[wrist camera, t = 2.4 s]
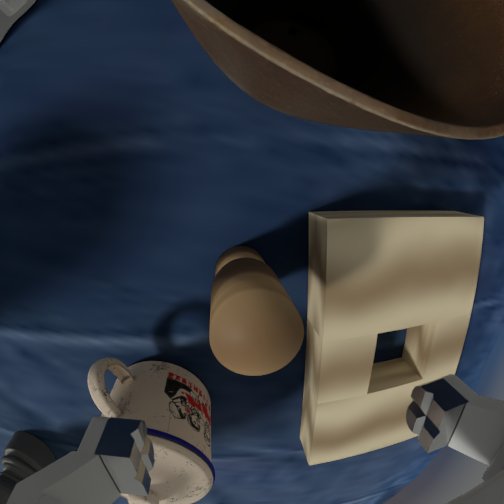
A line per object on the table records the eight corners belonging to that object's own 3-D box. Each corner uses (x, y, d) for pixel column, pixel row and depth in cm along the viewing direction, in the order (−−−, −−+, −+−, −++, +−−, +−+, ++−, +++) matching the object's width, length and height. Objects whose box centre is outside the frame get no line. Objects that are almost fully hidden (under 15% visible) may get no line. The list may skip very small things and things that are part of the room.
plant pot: (401, 141, 21) (579, 127, 6) (216, 187, 21) (208, 207, 5) (343, -16, 18) (438, -126, 2) (165, 9, 17) (119, -146, 2)
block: (308, 211, 22) (327, 218, 18) (454, 210, 23) (484, 217, 19) (299, 437, 27) (309, 465, 23) (417, 408, 28) (433, 429, 24)
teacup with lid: (231, 417, 26) (241, 523, 14) (148, 440, 26) (131, 535, 14) (163, 310, 23) (125, 414, 11) (75, 346, 23) (13, 436, 11)
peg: (210, 244, 22) (205, 296, 12) (267, 241, 22) (305, 289, 12) (214, 298, 23) (213, 378, 13) (268, 294, 23) (302, 370, 13)
